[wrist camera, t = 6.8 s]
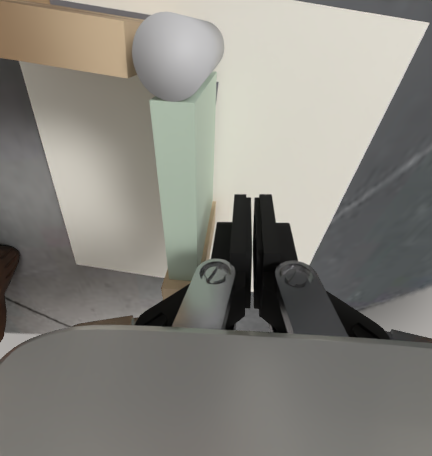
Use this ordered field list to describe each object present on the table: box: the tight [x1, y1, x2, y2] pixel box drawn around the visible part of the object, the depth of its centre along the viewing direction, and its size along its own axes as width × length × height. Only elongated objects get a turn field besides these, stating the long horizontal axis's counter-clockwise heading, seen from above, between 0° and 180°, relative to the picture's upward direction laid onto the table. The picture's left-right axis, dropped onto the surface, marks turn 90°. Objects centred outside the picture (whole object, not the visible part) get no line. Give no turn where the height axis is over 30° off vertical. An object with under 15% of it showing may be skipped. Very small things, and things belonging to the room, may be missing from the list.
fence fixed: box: [0, 0, 144, 79], centre depth 9 cm, size 7×2×7 cm, turn 83°
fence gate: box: [132, 12, 224, 300], centre depth 11 cm, size 10×2×7 cm, turn 178°
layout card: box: [19, 0, 429, 292], centre depth 16 cm, size 18×18×1 cm
